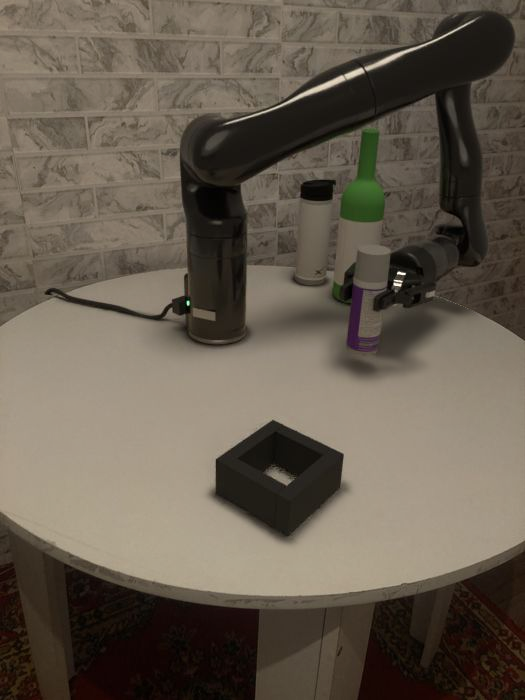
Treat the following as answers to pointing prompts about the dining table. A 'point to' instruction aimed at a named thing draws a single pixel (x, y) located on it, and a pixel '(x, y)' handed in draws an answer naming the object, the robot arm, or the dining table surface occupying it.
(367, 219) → the wine bottle
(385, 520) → the dining table surface
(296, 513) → the black square frame
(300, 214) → the travel mug
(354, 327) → the container
